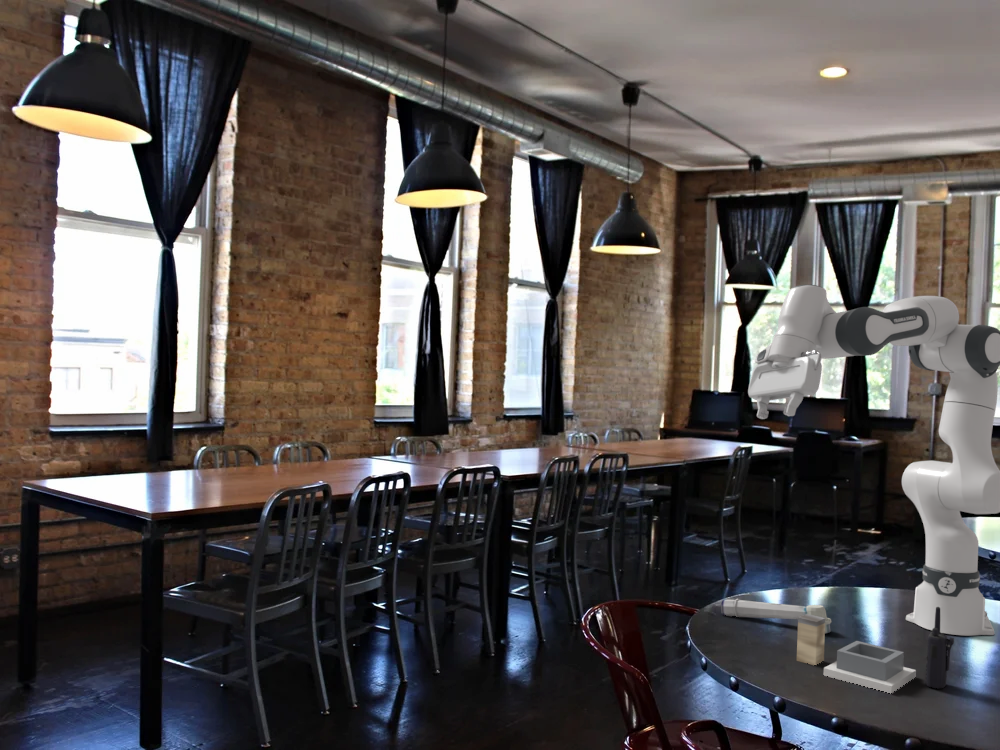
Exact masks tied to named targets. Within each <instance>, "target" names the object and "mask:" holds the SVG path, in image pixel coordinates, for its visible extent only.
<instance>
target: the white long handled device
mask: <svg viewBox="0 0 1000 750" xmlns="http://www.w3.org/2000/svg"><path fill="white" fill-rule="evenodd" d="M720 610H721V614H722V616H725V615H726V616H725V617H732V616H736V617H739V618H757V619H758V618H759V619H781V620H782V619H783V620H784V619H786V620H798V617H801V616H803V615H805V614H809V615H814V616H818V617H822V618H825V634H828V633H830V632H831V623H832V619H831V618H829V617H827V611H826V608H825V606H823V605H820V604H819V605H818V604H809V605H806V606H804V605H795V604H784V603H783V604H782V603H772V602H762V601H752V600H742V599H740V598H736V599H722V600H721V605H720ZM736 617H735V618H736Z"/></svg>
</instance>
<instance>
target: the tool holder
mask: <svg viewBox="0 0 1000 750" xmlns="http://www.w3.org/2000/svg"><path fill="white" fill-rule="evenodd" d="M904 657H905V652H904V651H901V650H897V649H892V648H888V647H884V646H881V645H875V644H871V643H867V642H863V641H859V640H855V641H854V642H851V643H849V644H848V645H845V646H843V647H841V648H839V649H838V650H836V660H835V661H834V662H832V663H830V664H829V665H827V666H824V667H823V675H824V677H827V676H828V677H827V678H832V679H834V678H835V679H834V680H839V681H841V680H842V682H845V681H846V682H845V683H849V682H850V683H849V684H852V683H854V684H853V685H856V684H858V685H857V686H859V685H861V686H860V687H863V686H865V687H864V688H867V687H868V689H870V688H873V689H872V690H874V689H876V690H875V691H878V690H880V691H879V692H881V691H884V692H883V693H885V692H887V693H886V694H888V693H890V694H889V695H892V694H894V693H895V692H896V691H898V690H900V689H901V688H902V687H904V686H906V685H907V684H908V682H909V681H910V682H911V680H912V679H913V680H914V678H915V677H916V678H917V670H916V669H914V668H909V667H905V666H904V663H905V661H904V659H905V658H904ZM916 678H915V679H916ZM913 680H912V681H913ZM910 682H909V683H910ZM906 683H907V684H906ZM905 684H906V685H905ZM903 685H904V686H903ZM900 687H901V688H900ZM897 689H898V690H897ZM894 691H895V692H894ZM891 693H892V694H891Z"/></svg>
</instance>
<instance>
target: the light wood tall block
mask: <svg viewBox="0 0 1000 750" xmlns="http://www.w3.org/2000/svg"><path fill="white" fill-rule="evenodd" d="M825 634H826V633H825V618H822V617H818V616H814V615H809V614H805V615H803V616H801V617H798V619H797V637H796V638H797V642H796V645H797V646H796V662H800V663H803V664H807V663H808V665H811V666H814V665H816V666H818V665H820V664H821V662H822V661H825V642H826V641H825V638H826V636H825ZM819 663H820V664H819ZM822 663H823V662H822ZM817 664H818V665H817Z"/></svg>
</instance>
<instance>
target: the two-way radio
mask: <svg viewBox="0 0 1000 750" xmlns="http://www.w3.org/2000/svg"><path fill="white" fill-rule="evenodd" d="M954 643H955V639H954V637H949V638H948V637H947V635H946V634H945V633H941V632H940V607H936V613H935V627H934V628H933V629H932V630H931V632H930V633H929V634H928V636H927V650H926V651H927V653H926V665H925V667H926V668H925V671H926V673H925V685H926V687H928V688H931V687H932V689H936V688H937V689H936V690H939V689H943V688H945V687H946V685H947V677H948V676H947V675H948V674H947V672H948V671H949V670H950V658H951V650H952V646H953V645H954Z"/></svg>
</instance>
